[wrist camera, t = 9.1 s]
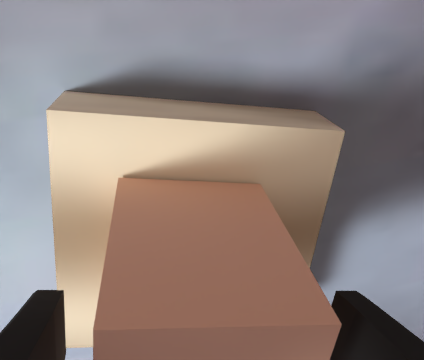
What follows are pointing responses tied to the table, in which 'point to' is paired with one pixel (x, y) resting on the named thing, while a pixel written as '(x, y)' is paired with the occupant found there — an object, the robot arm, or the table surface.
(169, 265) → the terracotta block
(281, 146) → the birch block
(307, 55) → the table surface
